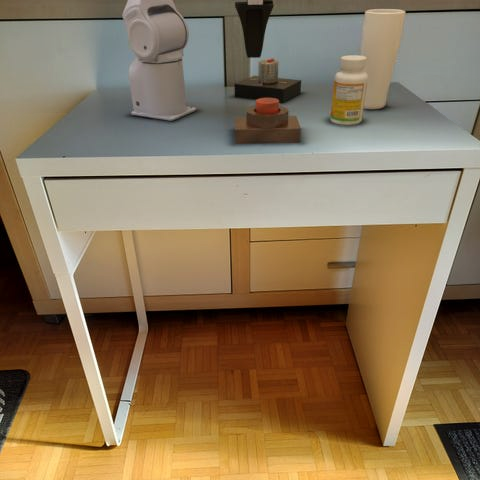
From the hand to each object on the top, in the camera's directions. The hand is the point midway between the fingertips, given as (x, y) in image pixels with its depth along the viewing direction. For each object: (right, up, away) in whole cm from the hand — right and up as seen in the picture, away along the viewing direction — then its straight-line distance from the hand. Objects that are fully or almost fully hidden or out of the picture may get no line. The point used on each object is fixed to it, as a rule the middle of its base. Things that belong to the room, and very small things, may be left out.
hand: (253, 56), depth 71 cm
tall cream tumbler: (+23, -1, +15) cm, 27 cm away
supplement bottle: (+16, -7, +8) cm, 19 cm away
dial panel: (+4, +5, +23) cm, 24 cm away
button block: (+2, -12, +2) cm, 12 cm away
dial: (+4, +7, +21) cm, 23 cm away
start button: (+2, -9, 0) cm, 9 cm away
